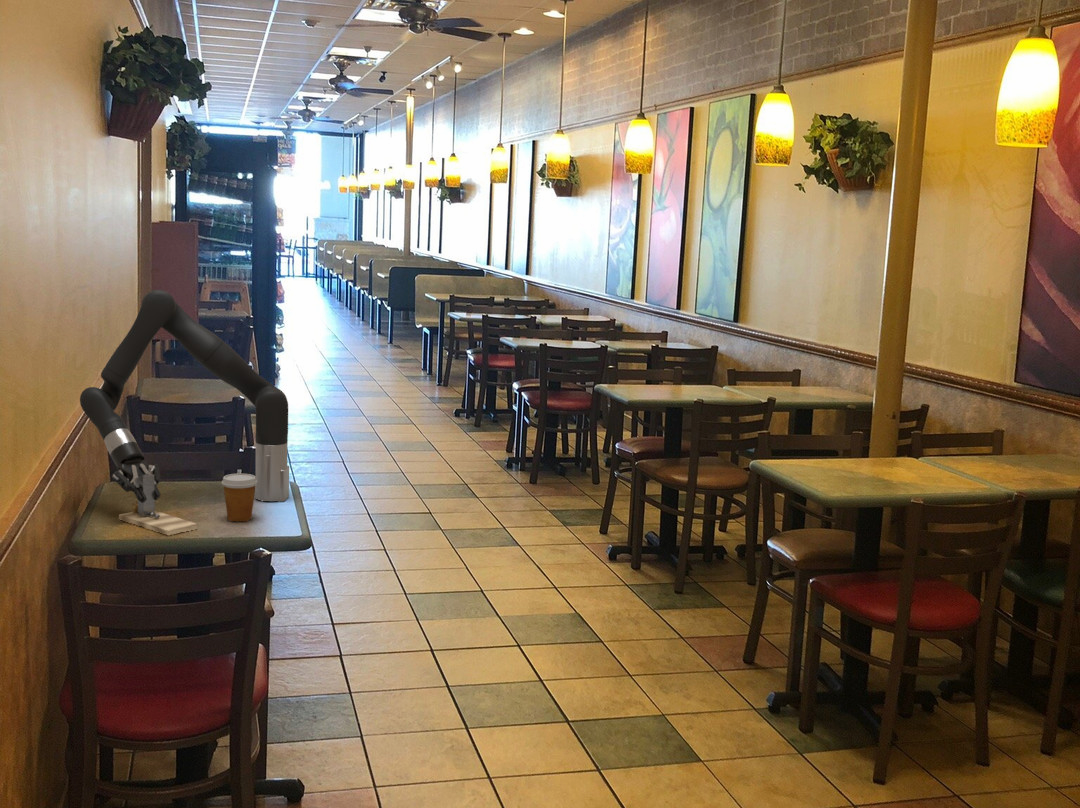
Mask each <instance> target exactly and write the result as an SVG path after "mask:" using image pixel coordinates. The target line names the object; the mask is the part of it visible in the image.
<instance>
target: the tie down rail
mask: <svg viewBox="0 0 1080 808" xmlns="http://www.w3.org/2000/svg"><path fill="white" fill-rule="evenodd" d="M131 504H132V506H131V507H132V511H130V512H126V513H120V514H118V520H119V519H120V520H123V521H127V522H130V523H133V524H136V525H139V526H142V527H145V528H148V529H151V530H153V531H152V532H154V531H156V532H155V533H157V532H160V533H163V534H167V535H171V534H176V533H180V532H185V533H187V532H186V531H189V532H192V531H191V530H193V531H196V530H195V529H197V530H198V528H199V527H198V523H195V522H193V521H191V520H190V521H189V520H185V519H183V518H179V517H177V516H172V515H170V514H167V513H163V512H162V511H161V512H160V511H157V510H155V514H158V515H160V517H159V518H155V517H152V516H145V517H143V516H140V515H138V511H137V510H138V502H132V503H131ZM120 520H119V521H120ZM123 521H122V522H123ZM130 523H129V524H130ZM133 524H132V525H133ZM136 525H135V526H136ZM139 526H138V527H139ZM142 527H141V528H142ZM145 528H144V529H145ZM148 529H147V530H148ZM151 530H150V531H151ZM160 533H159V534H160ZM163 534H162V535H163Z"/></svg>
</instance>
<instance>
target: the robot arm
mask: <svg viewBox="0 0 1080 808" xmlns="http://www.w3.org/2000/svg"><path fill="white" fill-rule="evenodd" d="M161 328H162V329H163V330H164V331H166V332H168V333H169V334H170V335H172V336H173V337H174V338H175V339H176V340H177V341H178V342H179V343H180V345H182V346H183V348H184V349H185V350H186V351H187V352H188V353H189V354H190V355H191V356H192V357H193V358H194V359H195V361H197V362H198V363H199V364H200V365H201V366H202V367H203V368H205V369H206V370H207V371H209V373H211V374H212V375H213V376H215V377H217V378H218V379H220V380H221V381H222V382H224V383H226V384H227V385H229V386H231V387H233V388H235V390H238V392H240V393H241V394H242V395H244V396H245V397H246V399H247V400H248V401H250V403H252V405H253V406H254V407H255V477H256V480H257V483H256V485H255V493H254V494H255V500H256V499H258V500H263V501H278V502H285V501H286V500H287V499H288V498H289V497H290V466H289V465H288V440H289V439H288V438H289V402H288V398H287V395H286V394H285V392H283V390H282V389H280V388H278V387H277V386H275V385H273V384H272V383H271V382H269V381H268V380H267V379H265V378H264V377H262V375H259V374H258V373H257V372H256V371H255V370H254V369H253V368H252V366H250V365H249V364H248V363H247V362H246V360H245V359H244V358H243V357H241V356H240V355H239V354H238V353H237V352H236V351H235V350H234V349H233V348H232V347H231V346H230V345H229V344H228V343H226V342H225V341H224V340H223V339H222V338H220V336H217V335H216V334H215V333H214V332H212V331H211V330H210V329H208V328H206V327H205V326H203V325H201V324H200V323H198V322H197V321H196V320H195V319H193V318H192V317H191V316H190V315H189V314H188V313H187V312H186V311H185V310H184V309H183V308H182V307H181V306H180V305H179V304H178V303H177V301H176V300H175V299H174V297H173V295H171V294H170V293H169V292H167V291H165V290H161V289H155V290H151V291H149V292H148V293H147V294H145V295H144V296H143V298H142V300H141V303H140V308H139V311H138V313H137V316H136V318H135V320H134V322H133V324H132V326H131V327H130V329H129V331H128V332H127V334H126V335H125V337H124V338H123V340H122V341H121V342H120V344H118V346H117V347H116V348H115V350H114V352H113V354H112V355H111V356H110V358H109V359H108V361H107V363H106V364H105V365H104V367H103V368H102V371H101V372H100V377H101V379H102V380H103V384H102V386H101V388H99V387H95V386H89V387H86V388H85V389H84V390H82V392H81V393H80V396H79V404H80V407H81V409H82V411H83V412H84V414H85V415H86V416H87V418H88V419H89V420H90V422H92V424H93V425H94V426H95V427H96V429H97V430H98V432H99V434H100V436H101V438H102V440H103V442H104V445H105V447H106V450H107V451H108V453H109V456H110V457H111V459H112V461H113V463H114V465H115V467H116V468H117V469H118V470H115V472H114V473H113V474H112V476H111V478H112V479H113V481H115V483H116V484H117V485H119V486H120V487H121V488H122V489H123V490H124V491H125V492H132V493H133V494H134V495H135V497H136V499H137V502H138V501H140V502H141V503H144V502H145V501H146V500H147V498H146V496H145V494H144V492H143V490H142V488H139V487H140V485H139V482H138V476H139V475H144V474H152V475H154V483H155V501H158V500H159V498H161V492H160V490H159V489H158V485H159V483H160V482H161V480H162V479H161V473H160V471H161V470H160V465H159V463H155V464H154V465H152V464H149V463H148V462H147V461H146V460H145V458H144V453H143V452H142V450H141V448H140V447H139V444H138V442H137V441H136V439H135V437H134V436H133V434H132V433H131V431H130V430H129V429H128V426H127V424H126V423H125V421H124V419H123V418H122V416H121V415H120V414H119V413H117V412H115V410H116V409H117V407H118V405H119V403H120V401H121V397H122V394H123V392H124V388H125V385H126V383H127V381H128V380H129V378H130V377H131V375H132V374H133V372H134V370H135V369H136V367H137V365H138V364H139V362H140V361H141V358H142V357H143V355H144V353H145V351H146V349H147V348H148V346H149V344H150V343H151V341H152V340H153V338H154V337H155V335H157V333H158V331H159V330H160V329H161ZM258 500H257V501H258ZM263 501H262V502H263Z"/></svg>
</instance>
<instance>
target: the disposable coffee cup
mask: <svg viewBox="0 0 1080 808" xmlns="http://www.w3.org/2000/svg"><path fill="white" fill-rule="evenodd" d="M256 483H257V480H256V475H254V474H249V473H231V474H226V475H224V476H223V479H222V481H221V485H222V487H223V493H224V499H225V501H224V502H225V508H226V509H225V510H226V514H227V520H228V521H229V520H230V521H229V522H233V521H238V522H237V523H242V522H241V521H244V522H248V520H249V521H251V520H252V515H253V507H254V500H255V494H256V493H255V491H256ZM250 519H251V520H250ZM239 521H240V522H239Z"/></svg>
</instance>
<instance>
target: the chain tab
mask: <svg viewBox="0 0 1080 808" xmlns="http://www.w3.org/2000/svg"><path fill="white" fill-rule="evenodd" d="M138 482H139V485H140V487H139V488H142V490H143V492H144V494H145V496H146V498H147V500H146V501H145V502H144V503H141V502H140V501H138V500H137V503H138V510H137V511H138V515H140V516H143V517H145V516H152V517H155V518H159V517H160V515H158V514H155V511H156V504H155V503H156V500H155V483H154V475H152V474H144V475H139V476H138Z"/></svg>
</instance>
